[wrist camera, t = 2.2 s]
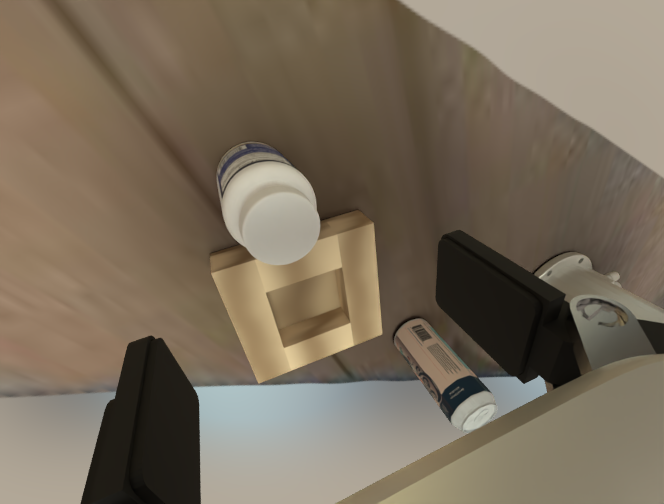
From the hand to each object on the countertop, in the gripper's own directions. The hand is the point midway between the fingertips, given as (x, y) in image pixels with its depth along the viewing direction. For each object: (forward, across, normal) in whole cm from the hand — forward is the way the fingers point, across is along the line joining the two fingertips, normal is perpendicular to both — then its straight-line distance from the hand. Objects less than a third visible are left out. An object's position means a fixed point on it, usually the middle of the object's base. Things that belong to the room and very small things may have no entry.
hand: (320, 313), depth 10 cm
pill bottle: (+16, 0, 0) cm, 16 cm away
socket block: (+16, -2, +12) cm, 20 cm away
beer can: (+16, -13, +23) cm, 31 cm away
